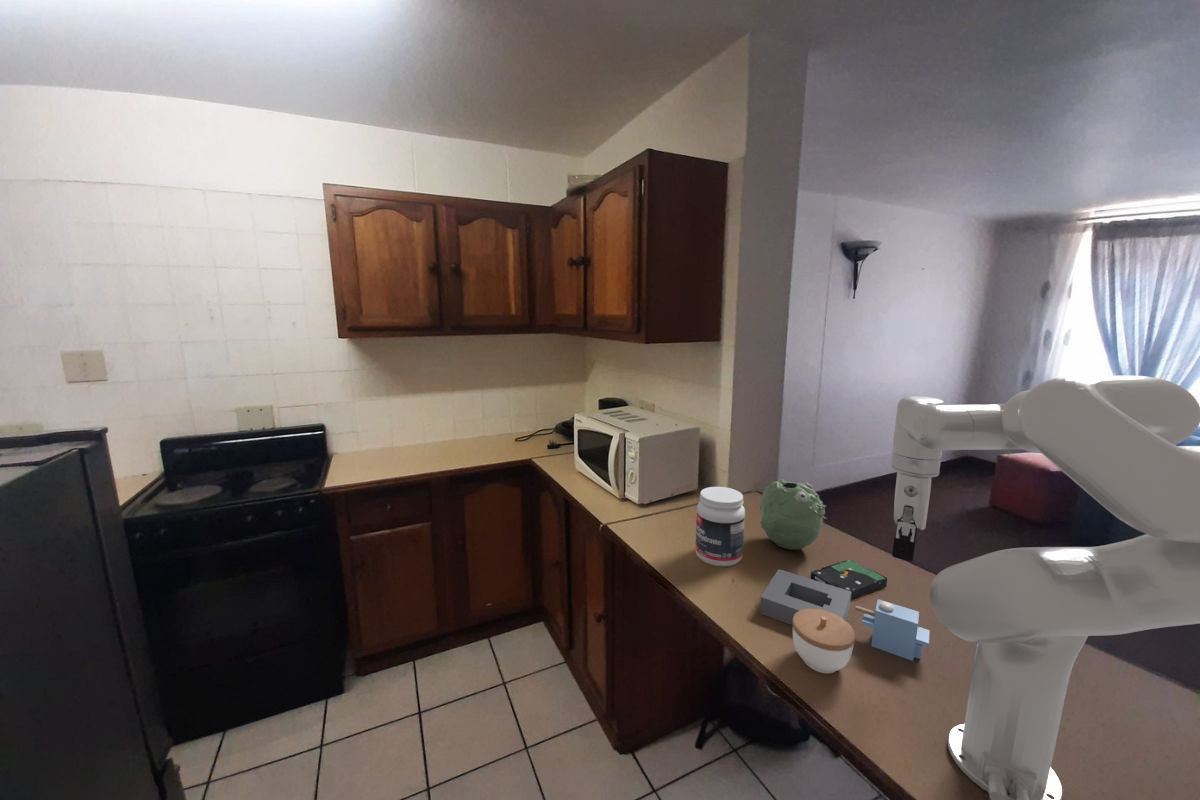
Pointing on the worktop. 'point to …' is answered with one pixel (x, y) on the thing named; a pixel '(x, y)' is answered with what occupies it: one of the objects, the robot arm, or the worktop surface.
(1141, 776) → the worktop surface
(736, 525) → the supplement tub
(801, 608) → the plate
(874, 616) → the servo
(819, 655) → the lidded jar
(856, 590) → the disk drive
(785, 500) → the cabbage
